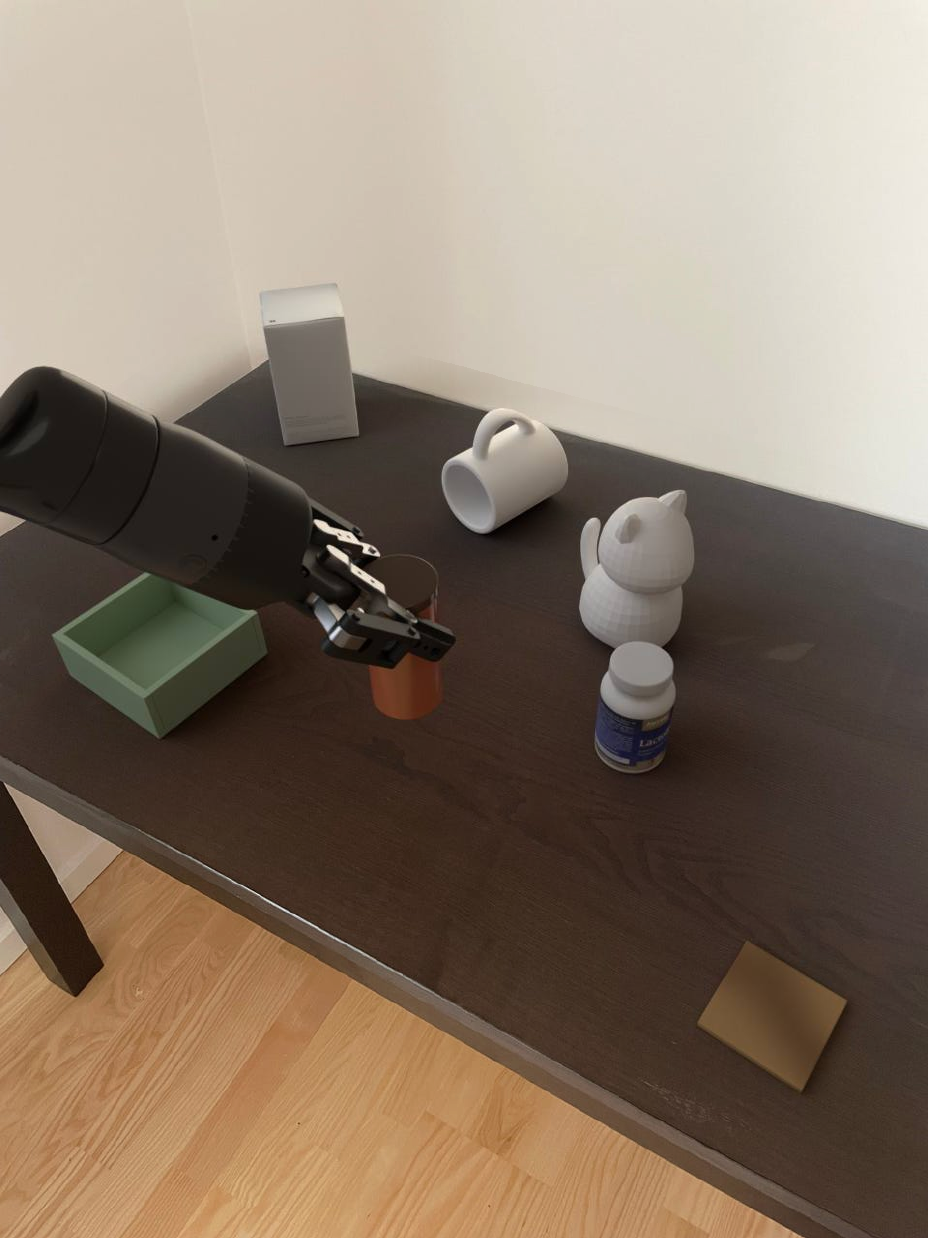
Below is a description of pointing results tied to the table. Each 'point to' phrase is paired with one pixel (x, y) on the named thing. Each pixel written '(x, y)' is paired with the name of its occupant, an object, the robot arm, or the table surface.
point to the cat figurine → (637, 571)
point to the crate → (160, 650)
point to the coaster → (773, 1015)
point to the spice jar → (414, 678)
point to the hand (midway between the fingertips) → (428, 618)
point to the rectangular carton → (310, 363)
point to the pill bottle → (635, 708)
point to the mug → (504, 471)
